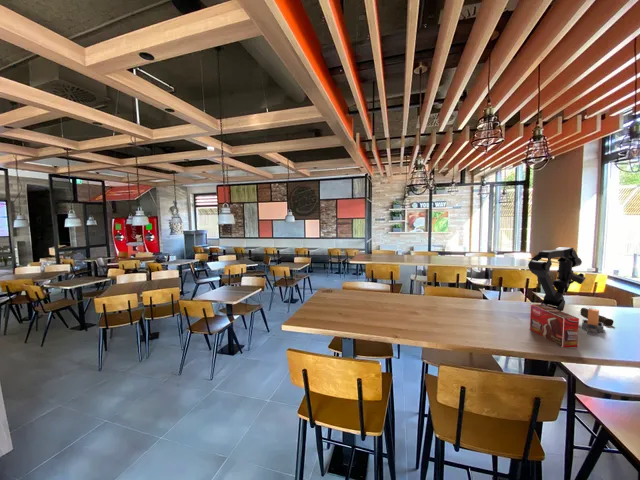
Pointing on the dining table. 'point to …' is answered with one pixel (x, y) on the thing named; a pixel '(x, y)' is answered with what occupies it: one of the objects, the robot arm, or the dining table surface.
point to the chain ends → (592, 327)
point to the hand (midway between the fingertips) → (563, 294)
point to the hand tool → (601, 319)
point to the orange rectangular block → (593, 316)
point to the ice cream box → (554, 325)
